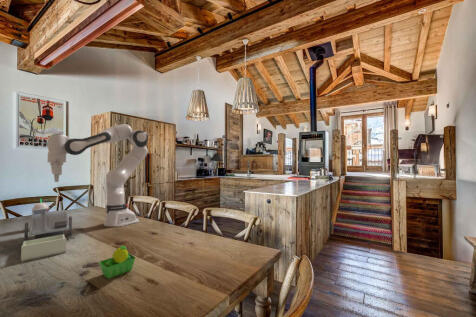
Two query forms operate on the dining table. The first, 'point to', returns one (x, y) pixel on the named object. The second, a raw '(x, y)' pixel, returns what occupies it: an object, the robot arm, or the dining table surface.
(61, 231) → the fulcrum stand
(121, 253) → the fruit basket
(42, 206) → the smoothie
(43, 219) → the seesaw lever
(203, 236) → the dining table surface
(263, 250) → the dining table surface
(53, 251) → the bin
